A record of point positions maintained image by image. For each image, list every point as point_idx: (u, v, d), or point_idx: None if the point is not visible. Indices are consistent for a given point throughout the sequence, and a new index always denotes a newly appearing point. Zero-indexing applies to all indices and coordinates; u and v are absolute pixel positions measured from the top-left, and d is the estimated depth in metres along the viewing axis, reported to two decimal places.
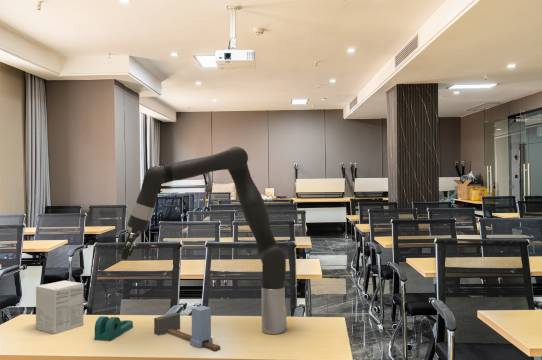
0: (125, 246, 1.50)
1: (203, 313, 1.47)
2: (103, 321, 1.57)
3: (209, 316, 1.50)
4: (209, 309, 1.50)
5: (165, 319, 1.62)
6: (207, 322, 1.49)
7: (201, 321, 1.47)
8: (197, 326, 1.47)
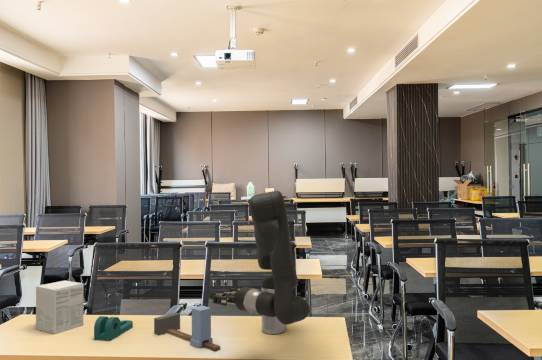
0: None
1: (203, 313, 1.47)
2: (103, 321, 1.57)
3: (209, 316, 1.50)
4: (209, 309, 1.50)
5: (165, 319, 1.62)
6: (207, 322, 1.49)
7: (201, 321, 1.47)
8: (197, 326, 1.47)
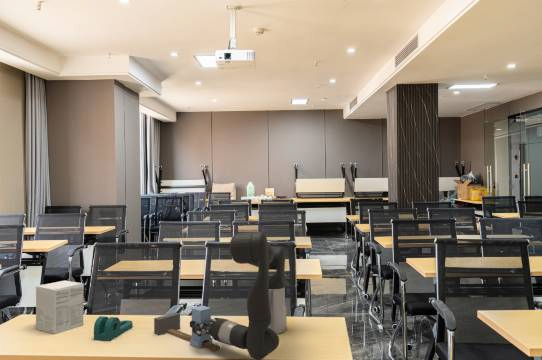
0: None
1: (203, 313, 1.48)
2: (102, 321, 1.57)
3: (209, 316, 1.50)
4: (209, 309, 1.50)
5: (165, 319, 1.62)
6: (207, 322, 1.49)
7: (201, 321, 1.47)
8: None
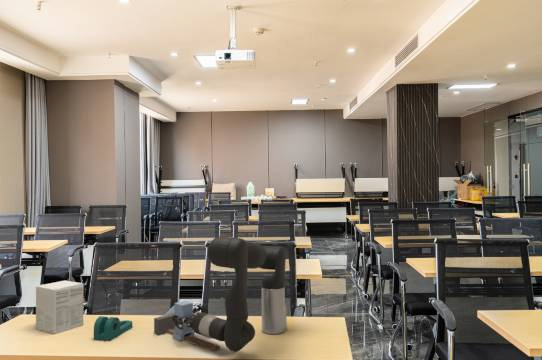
0: None
1: (185, 307, 1.55)
2: (102, 321, 1.57)
3: (191, 311, 1.57)
4: (191, 304, 1.57)
5: (165, 319, 1.62)
6: None
7: (183, 315, 1.54)
8: None
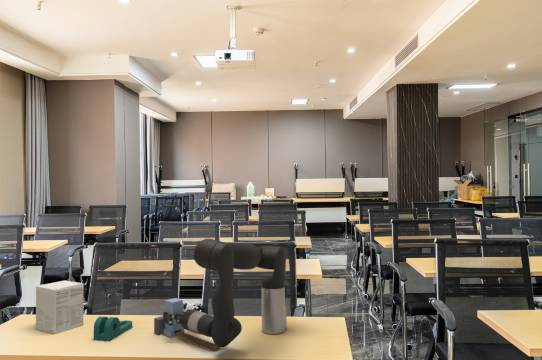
0: None
1: (175, 304, 1.59)
2: (102, 321, 1.57)
3: (181, 307, 1.61)
4: (181, 301, 1.61)
5: None
6: None
7: (173, 312, 1.58)
8: None
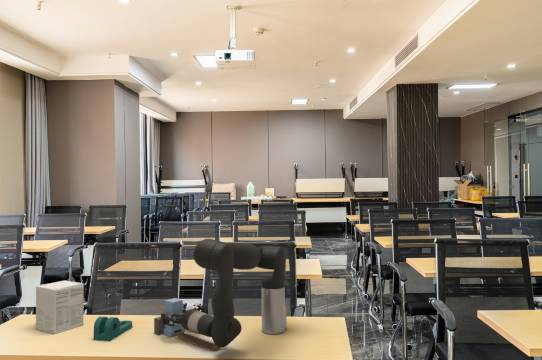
0: None
1: (175, 304, 1.59)
2: (102, 321, 1.57)
3: (181, 307, 1.61)
4: (181, 301, 1.61)
5: None
6: (179, 313, 1.60)
7: (173, 312, 1.58)
8: (170, 317, 1.59)
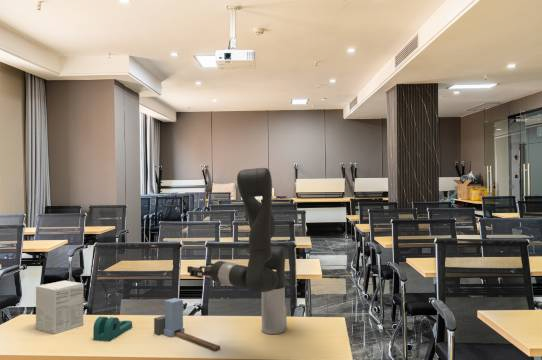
0: None
1: (175, 304, 1.59)
2: (102, 321, 1.57)
3: (181, 307, 1.61)
4: (181, 301, 1.61)
5: None
6: (179, 313, 1.60)
7: (173, 312, 1.58)
8: (170, 317, 1.59)
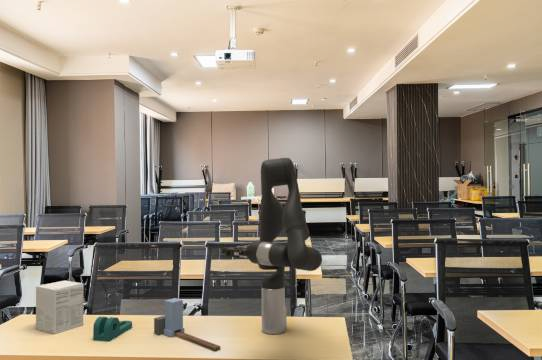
0: None
1: (175, 304, 1.59)
2: (102, 321, 1.57)
3: (181, 307, 1.61)
4: (181, 301, 1.61)
5: None
6: (179, 313, 1.60)
7: (173, 312, 1.58)
8: (170, 317, 1.59)
